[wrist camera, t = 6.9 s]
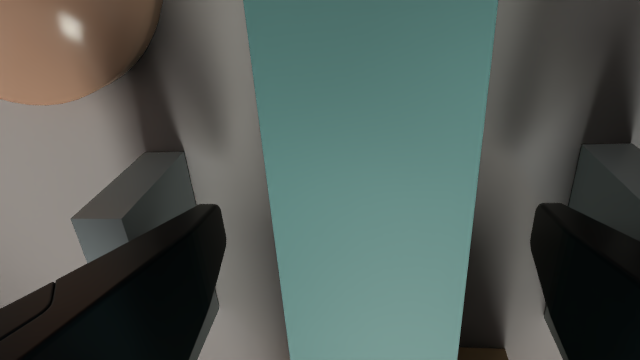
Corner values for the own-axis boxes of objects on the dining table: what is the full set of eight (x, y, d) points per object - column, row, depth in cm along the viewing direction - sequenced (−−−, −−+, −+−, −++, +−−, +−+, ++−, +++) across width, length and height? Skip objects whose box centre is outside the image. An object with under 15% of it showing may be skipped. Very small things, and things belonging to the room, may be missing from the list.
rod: (457, -169, 8) (528, -269, 4) (424, 339, 13) (443, 484, 10) (284, -152, 8) (212, -230, 4) (323, 335, 13) (305, 473, 10)
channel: (632, 143, 9) (732, 219, 7) (584, 318, 12) (644, 426, 9) (144, 152, 11) (70, 219, 8) (186, 307, 13) (139, 398, 10)
